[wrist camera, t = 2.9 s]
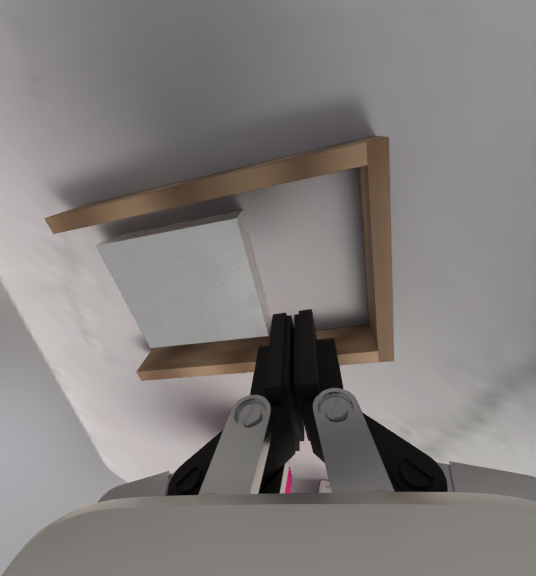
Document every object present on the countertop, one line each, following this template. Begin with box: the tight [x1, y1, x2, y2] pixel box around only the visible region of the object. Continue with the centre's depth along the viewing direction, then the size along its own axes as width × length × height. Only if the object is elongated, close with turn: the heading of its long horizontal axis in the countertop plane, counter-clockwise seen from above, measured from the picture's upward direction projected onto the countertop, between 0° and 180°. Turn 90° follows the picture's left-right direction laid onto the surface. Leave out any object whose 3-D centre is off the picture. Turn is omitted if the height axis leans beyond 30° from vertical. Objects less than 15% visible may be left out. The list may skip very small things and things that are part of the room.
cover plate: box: [96, 210, 271, 348], centre depth 21 cm, size 10×9×2 cm
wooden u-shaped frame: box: [44, 136, 394, 381], centre depth 20 cm, size 20×14×3 cm
